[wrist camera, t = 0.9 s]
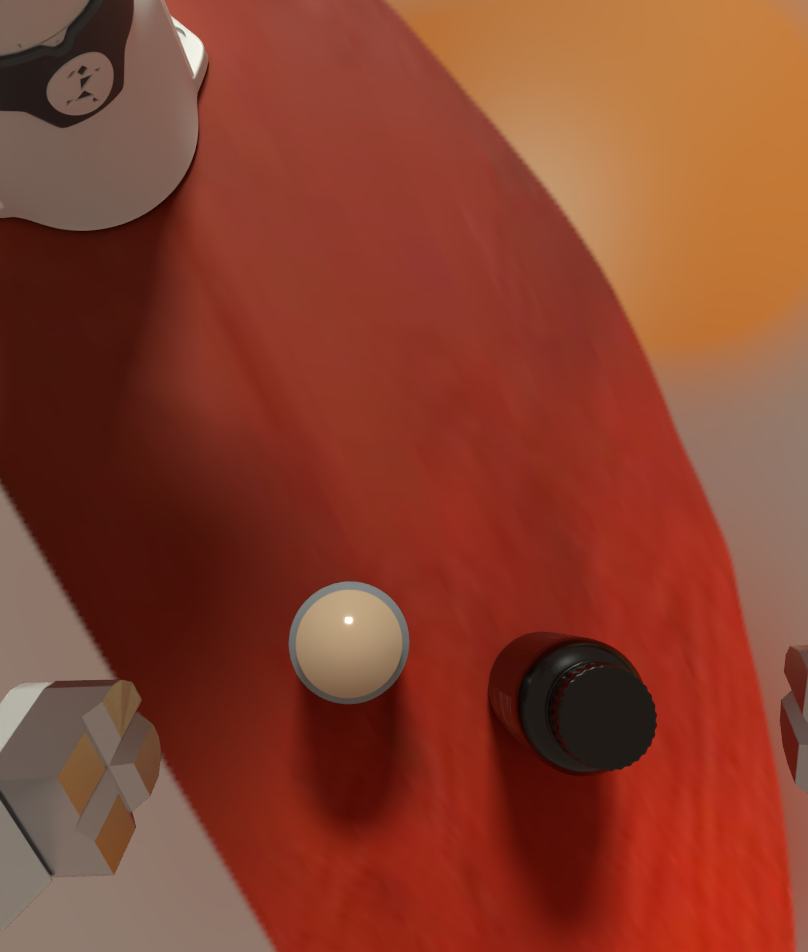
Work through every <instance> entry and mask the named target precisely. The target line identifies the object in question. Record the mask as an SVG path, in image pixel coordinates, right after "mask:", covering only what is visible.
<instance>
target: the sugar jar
mask: <svg viewBox="0 0 808 952" xmlns="http://www.w3.org/2000/svg"><path fill="white" fill-rule="evenodd" d="M408 651H409V632H408V628H407V624H406V621H405V618H404V616H403V614H402V612H401V610H400V609H399V607H398V606H397V605H396V603H395V602H394V601H393V600H392V599H391V598H390V597H389V596H388V595H387V594H385V593H384V592H382V591H381V590H379V589H378V588H375V587H373V586H371V585H368V584H365V583H360V582H340V583H335V584H332V585H329V586H326V587H324V588H322V589H320V590H319V591H317V592H316V593H314V594H313V595H312V596H311V597H309V598H308V599H307V600H306V601H305V603H304V604H303V605H302V606H301V607H300V609H299V611H298V612H297V614H296V616H295V618H294V620H293V623H292V626H291V630H290V635H289V653H290V657H291V662H292V664H293V667H294V669H295V671H296V673H297V675H298V677H299V678H300V680H301V681H302V682H303V683H304V685H305V686H306V687H307V688H308V689H309V690H311V691H312V692H313V693H314V694H316V695H318V696H319V697H321V698H323V699H325V700H328V701H331V702H334V703H340V704H357V703H362V702H366V701H369V700H371V699H374V698H375V697H377V696H379V695H381V694H382V693H384V692H385V691H386V690H387V689H389V688H390V687H391V686H392V685H393V684H394V682H395V681H396V680H397V678H398V677H399V675H400V674H401V672H402V670H403V668H404V666H405V663H406V660H407V657H408Z"/></svg>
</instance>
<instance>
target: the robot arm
mask: <svg viewBox="0 0 808 952" xmlns="http://www.w3.org/2000/svg"><path fill="white" fill-rule="evenodd" d="M207 66H208V55H207V52H206V50H205V48H204V45H203V43H202V42H201V40H200V39H199V38H198V37H197V36H196V35H194V34H193V33H192V32H191V31H189V30H188V29H187V28H186V27H184V26H183V25H182V24H181V23H179V22H178V21H177V20H176V19H174V18H173V17H172V16H171V15H170V13H169V11H168V8H167V6H166V3H165V1H164V0H0V218H8V217H17V218H23V219H27V220H30V221H33V222H36V223H40V224H43V225H46V226H49V227H54V228H58V229H65V230H76V231H88V230H99V229H105V228H110V227H114V226H118V225H121V224H124V223H127V222H129V221H132V220H134V219H136V218H138V217H140V216H142V215H144V214H145V213H147V212H149V211H150V210H152V209H153V208H155V207H156V206H157V205H159V204H160V203H161V202H162V201H163V200H164V199H166V198H167V197H168V196H169V195H170V194H171V193H172V191H173V190H174V189H175V188H176V187H177V185H178V184H179V183H180V181H181V180H182V178H183V177H184V175H185V173H186V172H187V170H188V168H189V166H190V163H191V161H192V158H193V156H194V152H195V149H196V144H197V138H198V111H197V95H198V91H199V88H200V86H201V83H202V81H203V78H204V76H205V73H206V70H207ZM784 673H785V675H786V677H787V680H788V682H789V684H790V687H791V689H792V690H791V691H790V692H789V693H788V694H787V695H786V696H785V697H784V698H783V699H782V700H781V712H780V725H781V734H782V742H783V748H784V752H785V755H786V759H787V763H788V766H789V769H790V771H791V774H792V776H793V779H794V782H795V784H796V785H798V786H799V787H800V788H801V789H803V790H804V791H805V792H806V793H808V645H797V646H790V647H789V649H788V652H787V654H786V658H785V667H784ZM141 701H142V700H141V698H140V696H139V694H138V692H137V690H136V688H135V686H134V685H133V683H132V682H130V681H125V680H82V681H55V682H28V683H21V684H20V685H18V686H16V687H14V688H12V689H11V690H10V691H9V692H8V694H7V695H6V696H5V698H4V699H3V700H2V702H1V703H0V934H1V933H2V932H3V931H4V930H5V929H6V928H7V927H8V926H9V925H10V924H11V923H12V922H13V921H14V920H15V919H16V918H17V916H18V915H20V913H22V912H23V910H25V909H26V908H27V907H28V905H29V904H30V903H31V902H32V901H33V900H34V899H35V898H36V897H37V896H38V895H39V894H40V893H41V892H42V891H43V890H44V889H45V888H46V887H47V886H48V885H49V884H50V883H51V882H52V878H51V877H75V876H107V875H114V874H115V872H116V870H117V867H118V865H119V863H120V861H121V859H122V857H123V854H124V852H125V850H126V848H127V846H128V844H129V841H130V839H131V837H132V835H133V833H134V831H135V828H136V825H135V821H134V818H133V814H132V812H133V810H135V809H136V808H137V807H138V806H139V805H141V804H142V803H143V802H144V801H145V800H146V799H148V797H150V795H151V793H152V790H153V788H154V786H155V783H156V781H157V779H158V776H159V769H160V761H161V748H160V741H159V736H158V734H157V732H156V730H155V727H154V725H153V724H152V723H151V722H150V721H148V720H147V719H145V718H144V717H143V716H141V715H140V714H138V713H137V710H138V708H139V705H140V703H141Z"/></svg>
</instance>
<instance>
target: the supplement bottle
mask: <svg viewBox="0 0 808 952" xmlns="http://www.w3.org/2000/svg"><path fill="white" fill-rule="evenodd" d="M489 698H490V703H491V706H492V709H493V712H494V714H495V716H496V718H497V719H498V721H499V723H500V724H501V725H502V727H503V728H504V729H505V730H506V731H507V732H508V733H509V734H510V735H511V736H512V737H513V738H515V739H516V740H517V741H518V742H519V743H521V744H522V745H523V746H524V747H525V748H527V749H528V750H529V751H530V752H532V753H533V754H534V755H535V756H536V757H538V758H539V759H540V760H541V761H543V762H544V763H546V764H547V765H549V766H550V767H552V768H554V769H556V770H558V771H560V772H563V773H566V774H569V775H574V776H595V775H599V774H603V773H606V772H608V771H613V770H615V769H619V770H621V769H623V768H624V767H625V766H631V765H632V763H633V762H635V761H638V760H639V759H640V757H641V756H642V755H644V754H645V753H646V751H647V748H648V747H650V746H651V743H652V739H653V738H654V736H655V729H656V726H657V723H656V717H657V714H656V712H655V704H654V702H653V701H652V695H651V694H650V693H649V692H648V690H647V687H646V686H645V685H644V684H643V682H642V679H641V677H640V675H639V673H638V672H637V670H636V669H635V667H634V666H633V665H632V663H631V662H630V661H629V660H628V659H627V658H626V657H625V656H624V655H623V654H622V653H621V652H619V651H618V650H616V649H615V648H613V647H611V646H610V645H607V644H605V643H603V642H600V641H597V640H594V639H589V638H584V637H578V636H572V635H566V634H560V633H553V632H535V633H529V634H526V635H523V636H521V637H519V638H517V639H515V640H514V641H512V642H511V643H509V644H508V645H507V646H506V647H505V648H504V649H503V650H502V651H501V653H500V654H499V655H498V657H497V659H496V660H495V662H494V664H493V667H492V670H491V673H490V678H489Z"/></svg>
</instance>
